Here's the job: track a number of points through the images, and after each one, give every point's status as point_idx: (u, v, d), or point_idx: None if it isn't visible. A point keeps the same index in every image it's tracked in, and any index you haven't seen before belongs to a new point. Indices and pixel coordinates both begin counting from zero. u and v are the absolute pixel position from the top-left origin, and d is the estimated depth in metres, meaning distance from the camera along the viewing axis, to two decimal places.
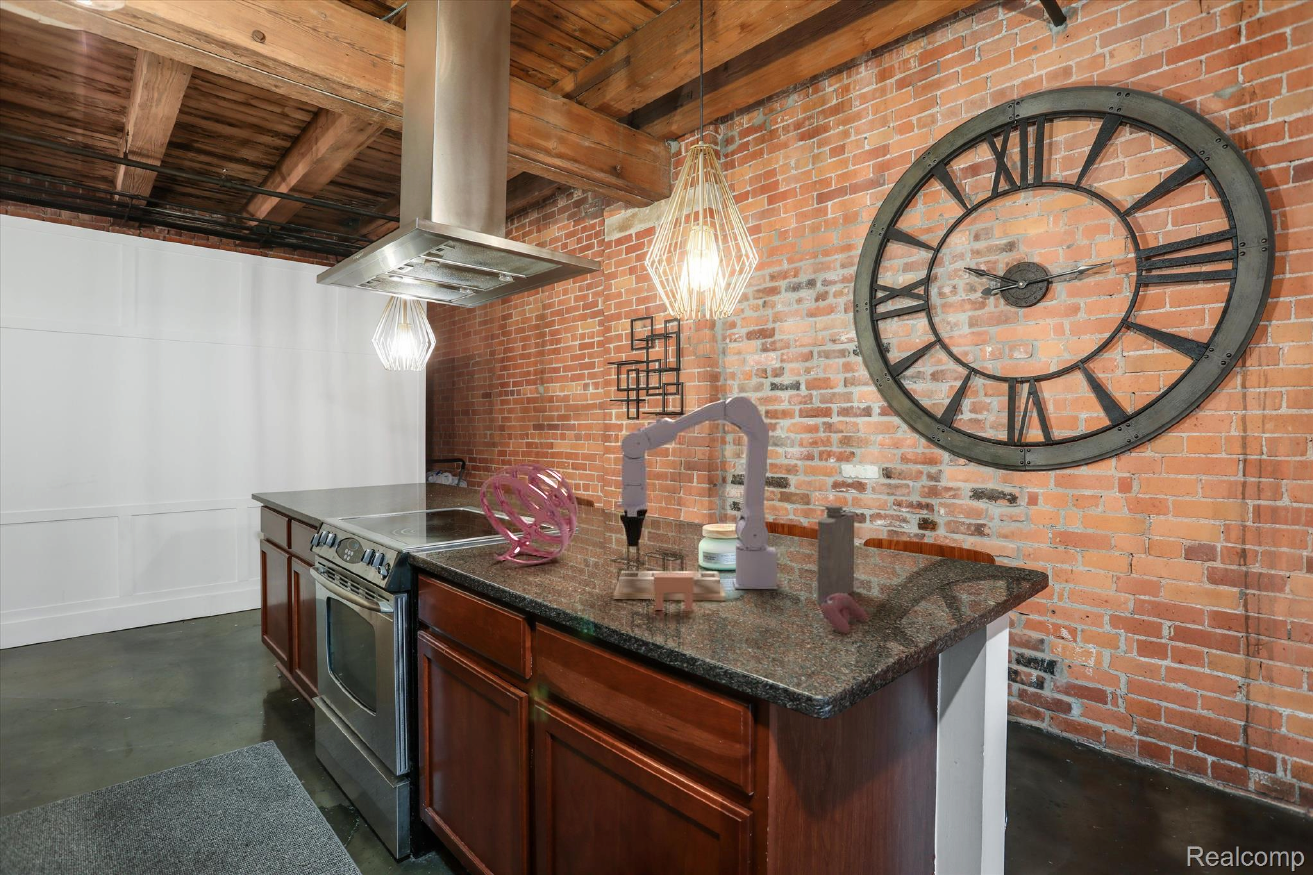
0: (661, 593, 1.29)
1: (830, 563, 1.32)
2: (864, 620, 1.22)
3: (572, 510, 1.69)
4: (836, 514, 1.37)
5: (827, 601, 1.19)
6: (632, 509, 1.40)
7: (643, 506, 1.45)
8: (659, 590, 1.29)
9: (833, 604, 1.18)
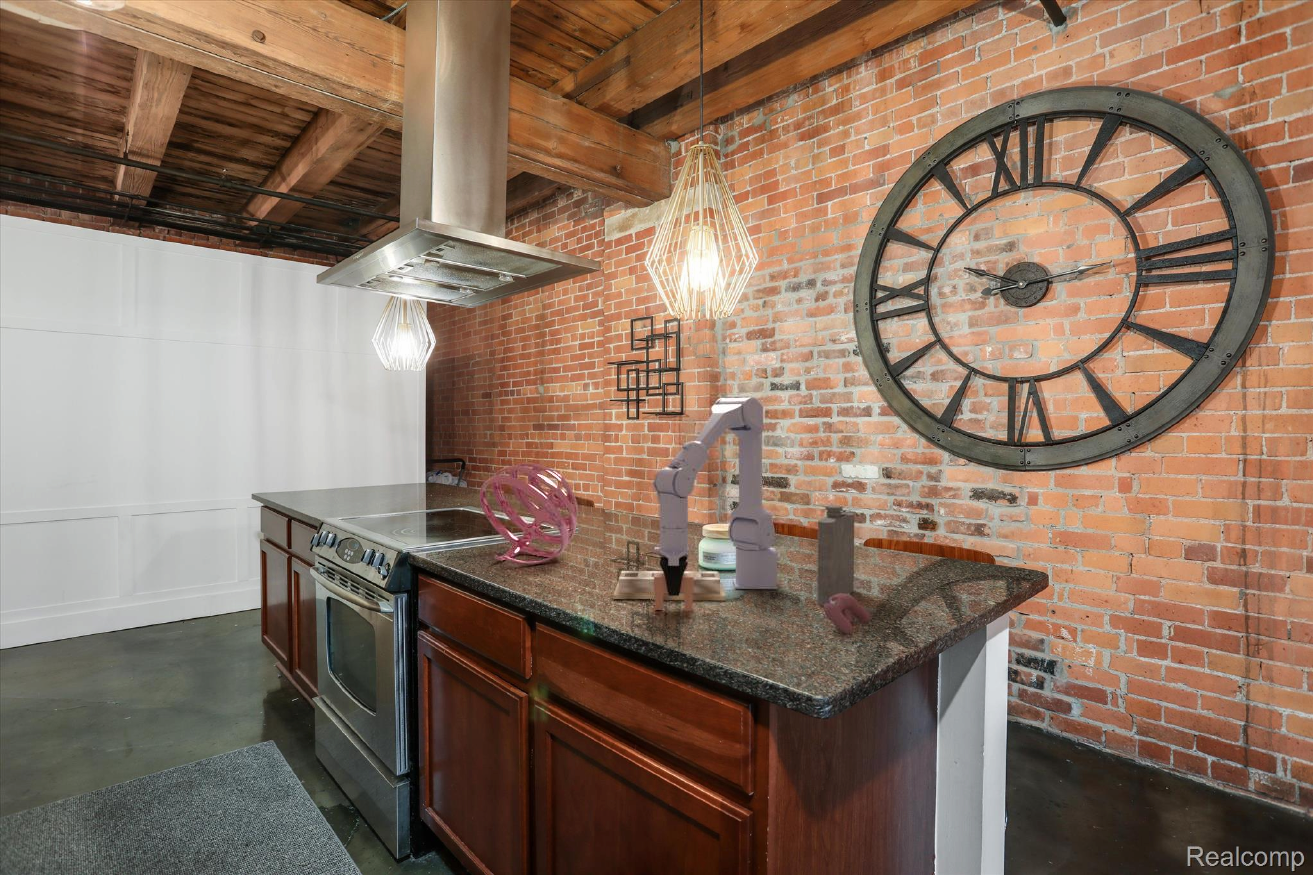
0: (661, 593, 1.29)
1: (830, 563, 1.32)
2: (867, 620, 1.21)
3: (572, 510, 1.69)
4: (836, 514, 1.37)
5: (830, 601, 1.19)
6: (674, 557, 1.23)
7: (685, 552, 1.27)
8: (659, 590, 1.29)
9: (836, 604, 1.17)
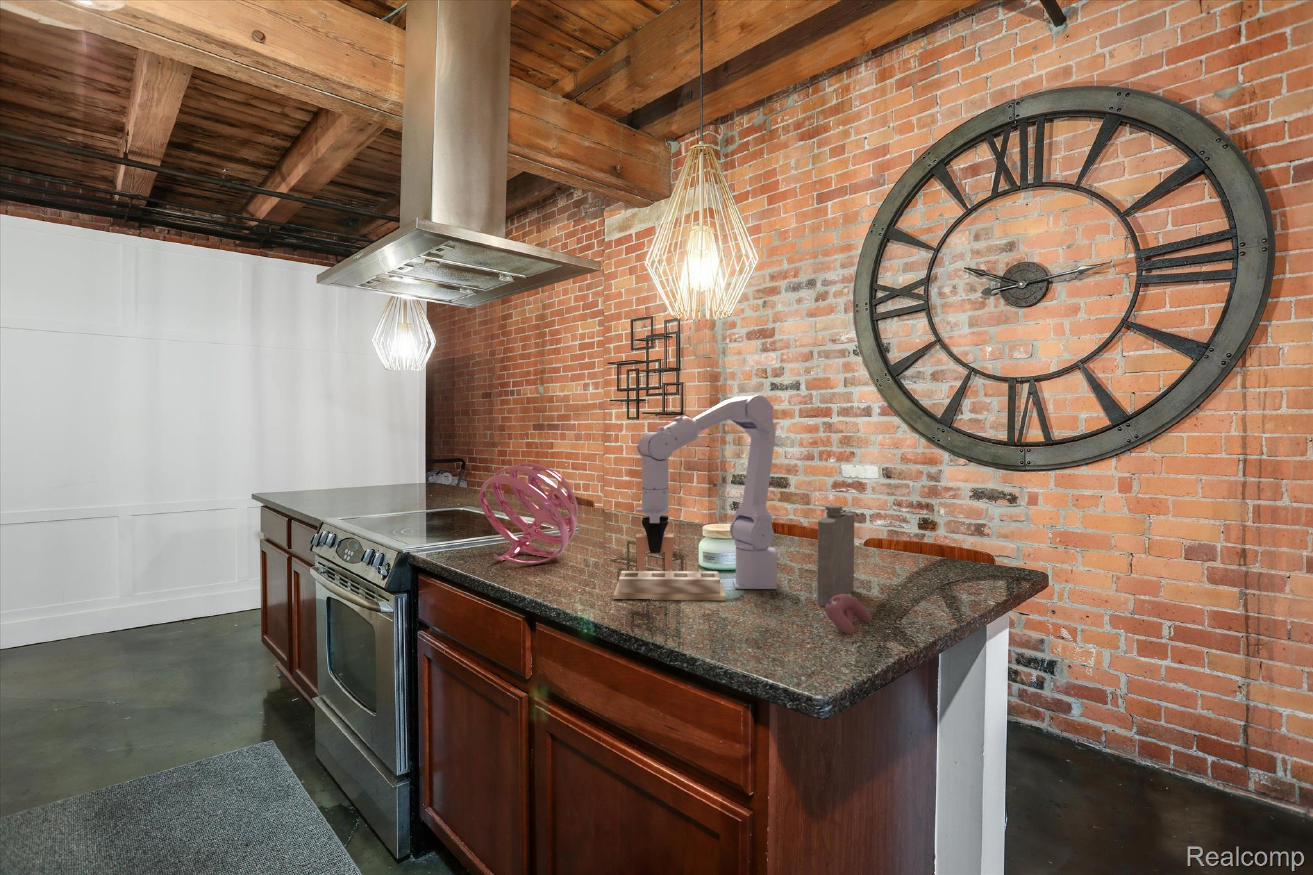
0: (643, 552, 1.36)
1: (830, 563, 1.32)
2: (868, 621, 1.21)
3: (572, 510, 1.69)
4: (836, 514, 1.37)
5: (831, 602, 1.18)
6: (655, 515, 1.30)
7: (665, 511, 1.34)
8: (641, 549, 1.36)
9: (837, 605, 1.17)
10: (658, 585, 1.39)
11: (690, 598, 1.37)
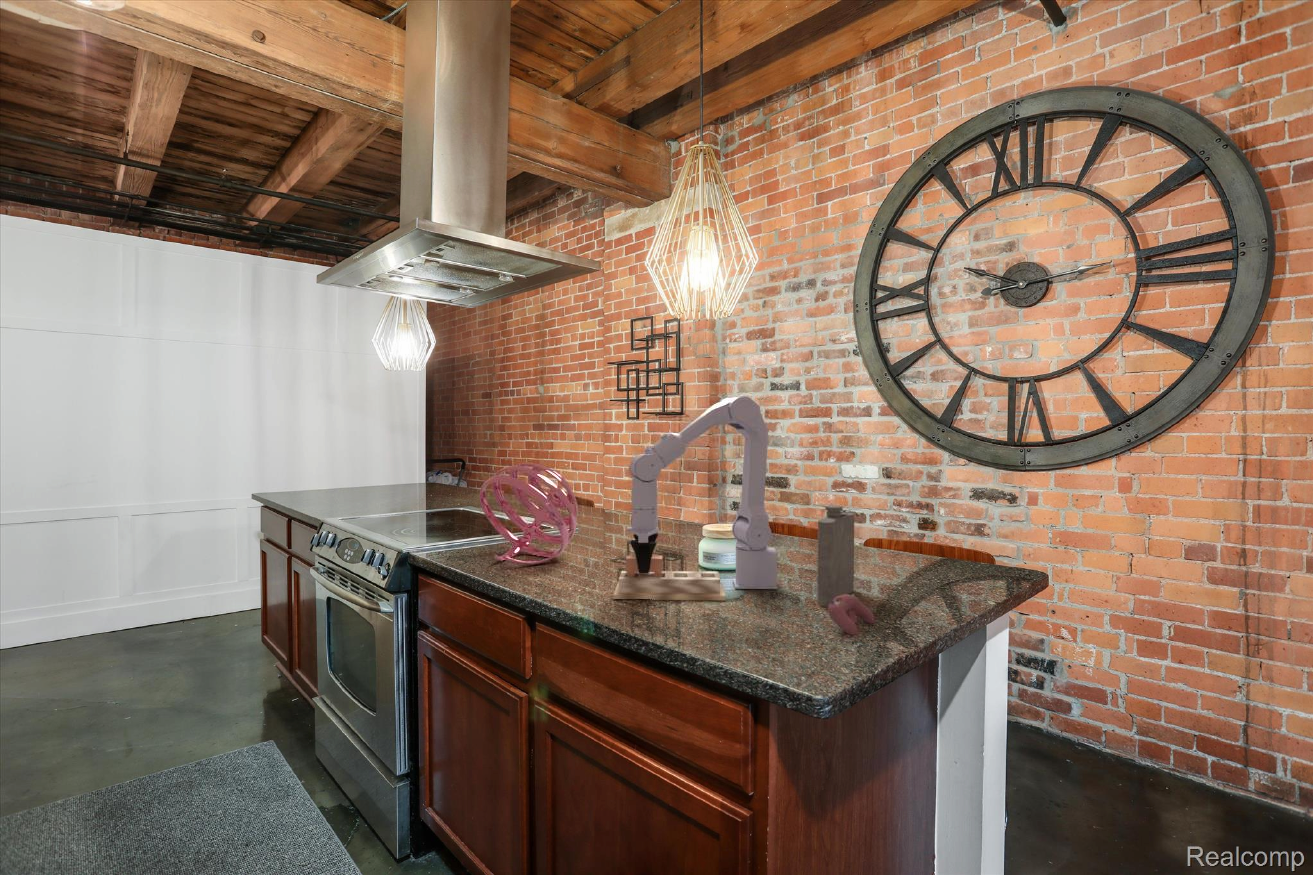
0: (632, 573, 1.41)
1: (830, 563, 1.32)
2: (871, 621, 1.21)
3: (572, 510, 1.69)
4: (836, 514, 1.37)
5: (834, 602, 1.18)
6: (643, 535, 1.35)
7: (654, 531, 1.39)
8: (631, 570, 1.41)
9: (840, 605, 1.17)
10: (658, 585, 1.39)
11: (690, 598, 1.37)
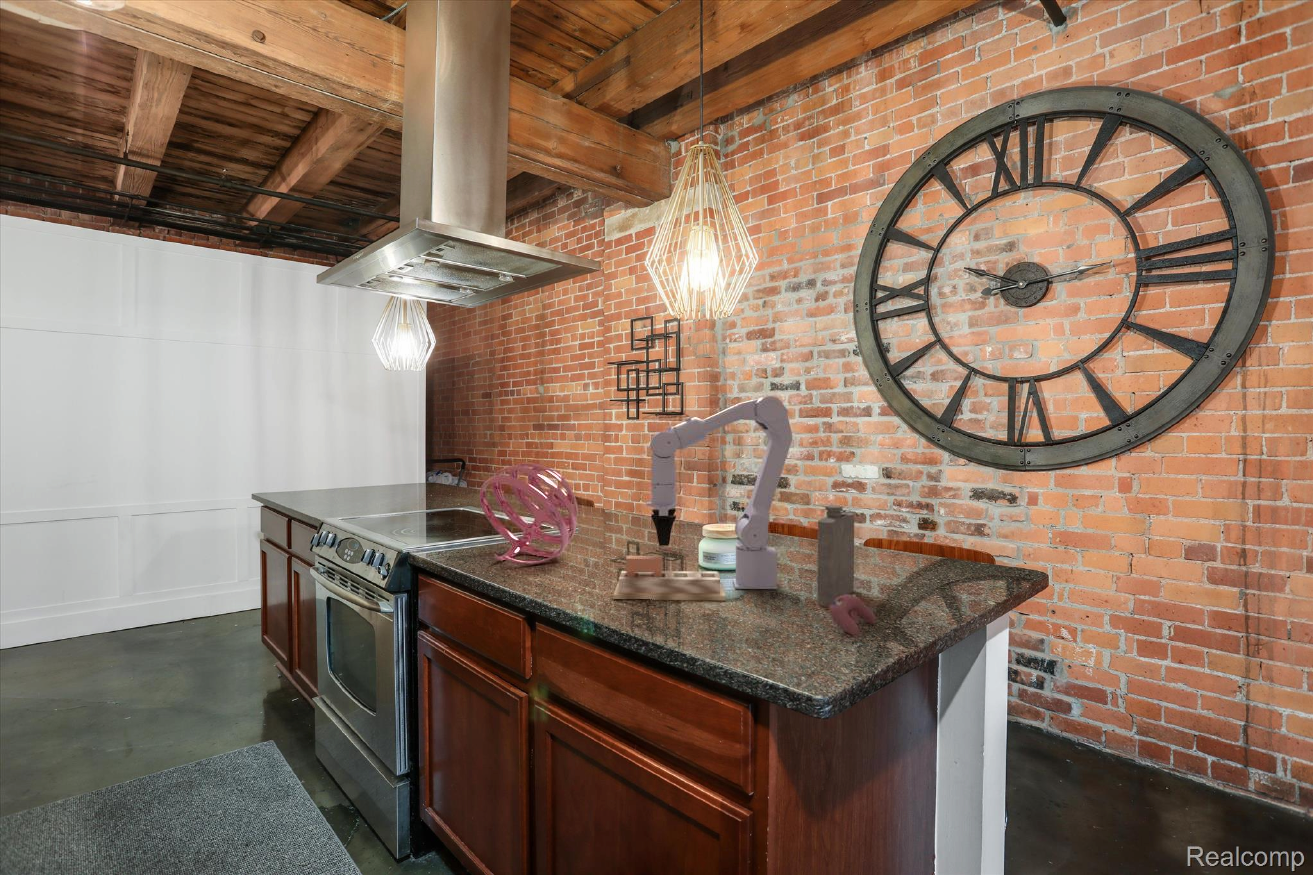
0: (632, 573, 1.41)
1: (830, 563, 1.32)
2: (873, 622, 1.21)
3: (572, 510, 1.69)
4: (836, 514, 1.37)
5: (835, 602, 1.18)
6: (664, 508, 1.40)
7: (673, 505, 1.45)
8: (631, 570, 1.41)
9: (842, 605, 1.17)
10: (658, 585, 1.39)
11: (690, 598, 1.37)
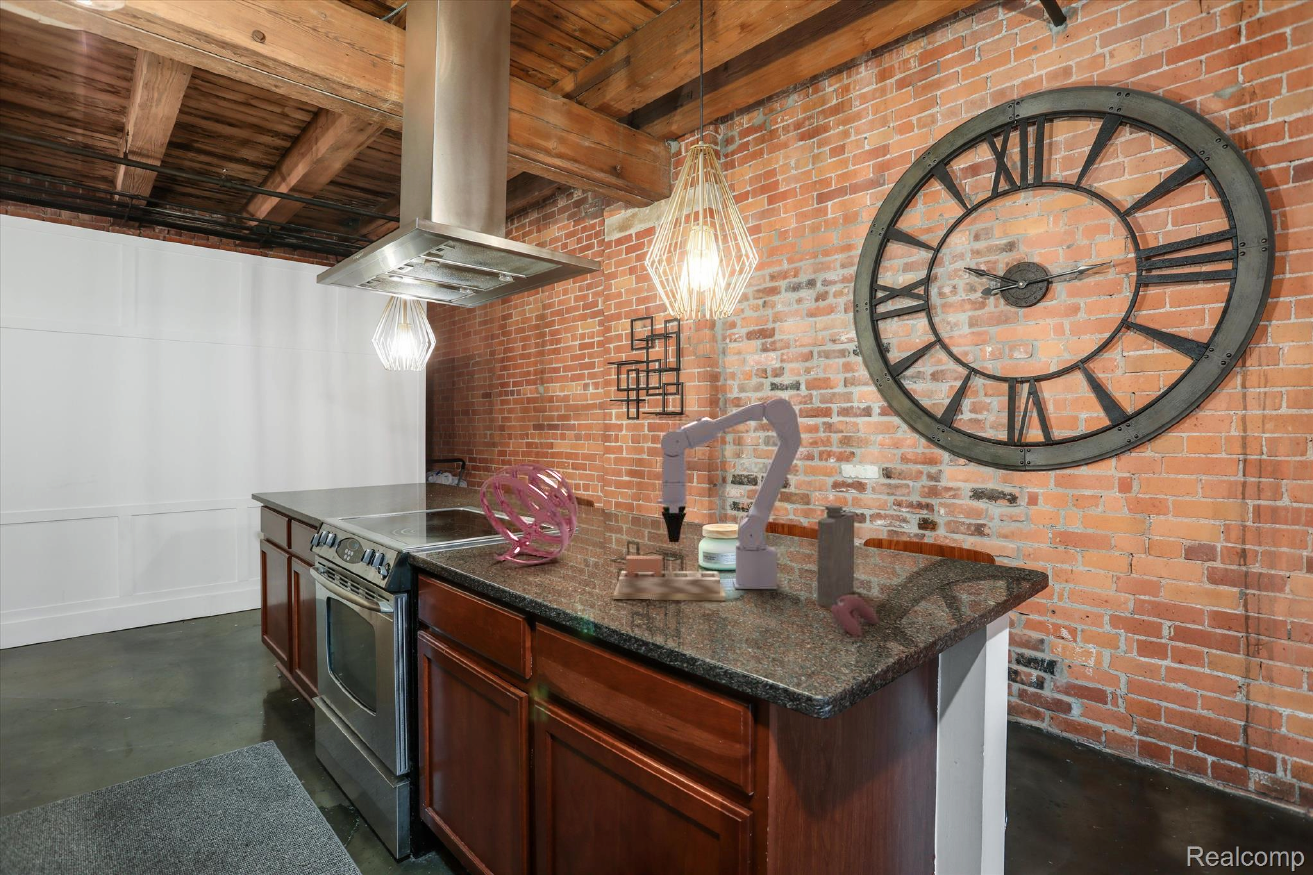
0: (632, 573, 1.41)
1: (830, 563, 1.32)
2: (874, 622, 1.21)
3: (572, 510, 1.69)
4: (836, 514, 1.37)
5: (837, 603, 1.18)
6: (674, 505, 1.43)
7: (683, 503, 1.48)
8: (631, 570, 1.41)
9: (844, 606, 1.17)
10: (658, 585, 1.39)
11: (690, 598, 1.37)
